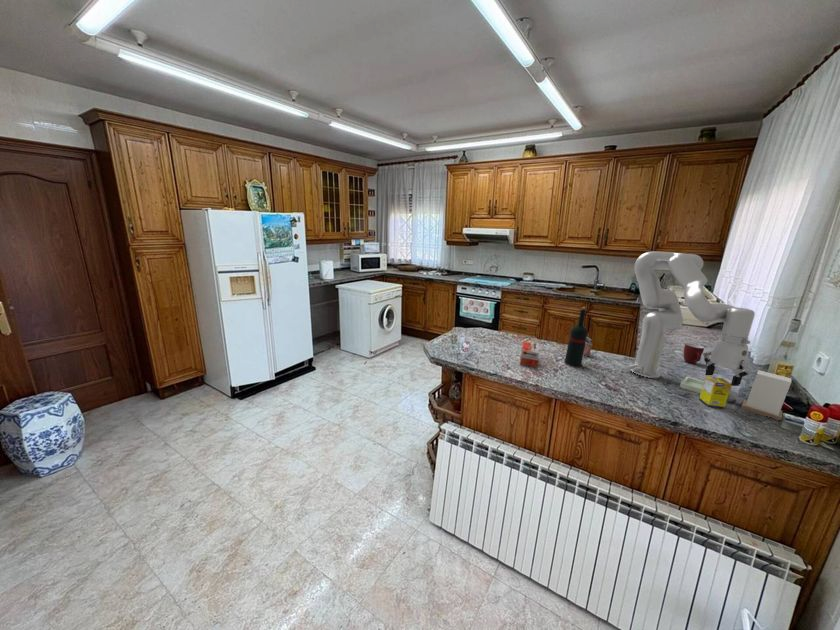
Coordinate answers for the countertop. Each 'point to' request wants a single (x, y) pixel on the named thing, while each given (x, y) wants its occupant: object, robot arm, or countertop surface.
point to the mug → (692, 353)
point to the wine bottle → (576, 342)
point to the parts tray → (692, 384)
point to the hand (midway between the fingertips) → (721, 380)
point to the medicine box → (529, 354)
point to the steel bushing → (732, 397)
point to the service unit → (767, 395)
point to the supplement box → (715, 392)
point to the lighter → (587, 347)
